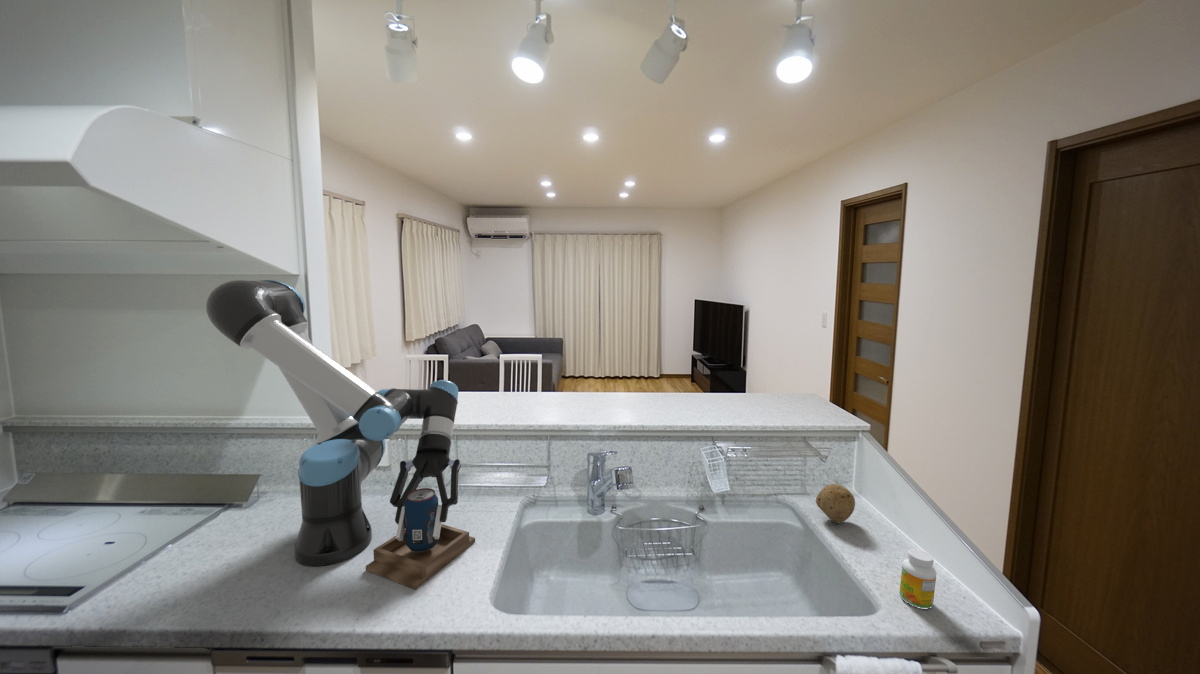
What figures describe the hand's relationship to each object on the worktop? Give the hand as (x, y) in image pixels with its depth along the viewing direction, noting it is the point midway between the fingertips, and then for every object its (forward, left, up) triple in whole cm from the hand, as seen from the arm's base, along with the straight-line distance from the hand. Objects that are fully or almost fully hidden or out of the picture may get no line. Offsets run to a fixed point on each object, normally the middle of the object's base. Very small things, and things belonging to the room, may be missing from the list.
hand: (417, 538), depth 93 cm
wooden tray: (-2, +3, -6) cm, 7 cm away
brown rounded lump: (+84, +60, -6) cm, 103 cm away
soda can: (-2, +3, -4) cm, 5 cm away
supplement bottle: (+96, +33, -6) cm, 102 cm away
